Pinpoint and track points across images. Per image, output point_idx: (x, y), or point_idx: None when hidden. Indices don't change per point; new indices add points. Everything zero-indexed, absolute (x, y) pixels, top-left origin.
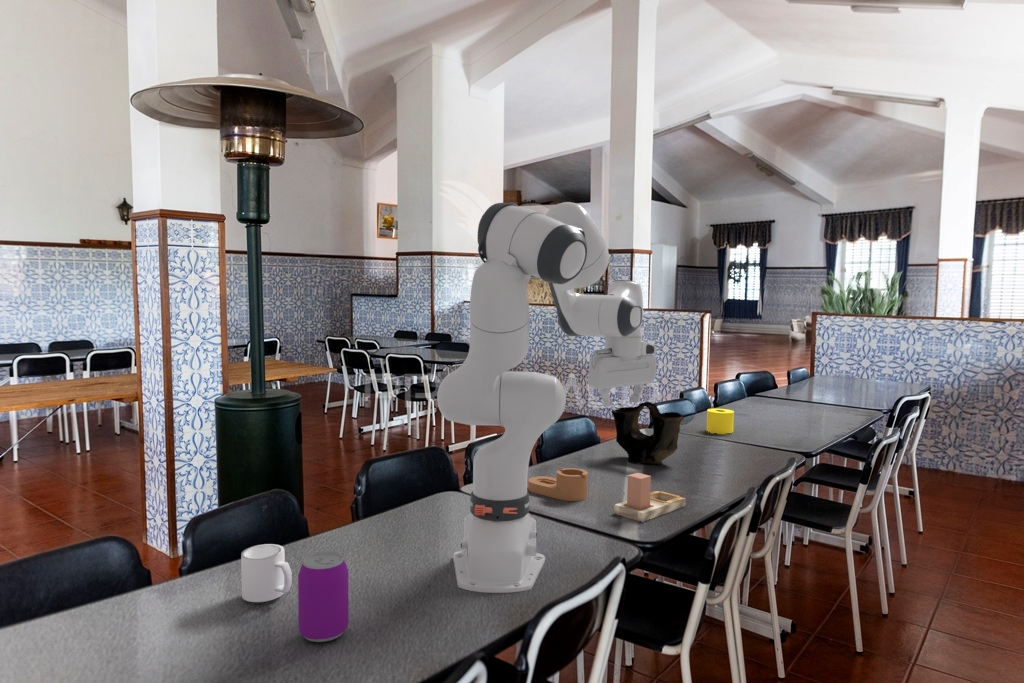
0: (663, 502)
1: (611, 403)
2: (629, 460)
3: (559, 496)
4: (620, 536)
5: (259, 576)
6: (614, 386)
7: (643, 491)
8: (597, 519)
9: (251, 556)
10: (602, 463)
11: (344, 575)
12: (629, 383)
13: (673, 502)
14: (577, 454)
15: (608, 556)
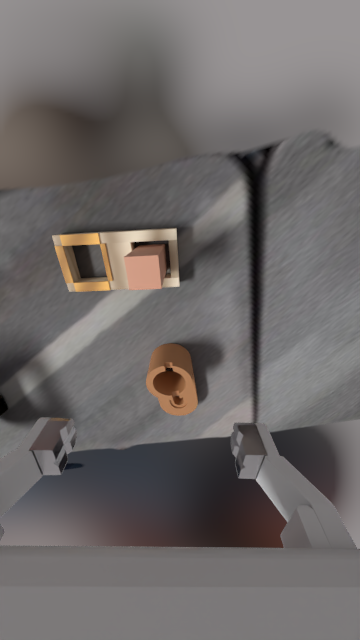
0: (105, 243)
1: (248, 432)
2: (4, 409)
3: (191, 363)
4: (248, 209)
5: None
6: (304, 560)
7: (152, 251)
8: (214, 282)
9: None
10: None
11: None
12: (108, 576)
13: (88, 233)
14: None
15: (337, 156)
